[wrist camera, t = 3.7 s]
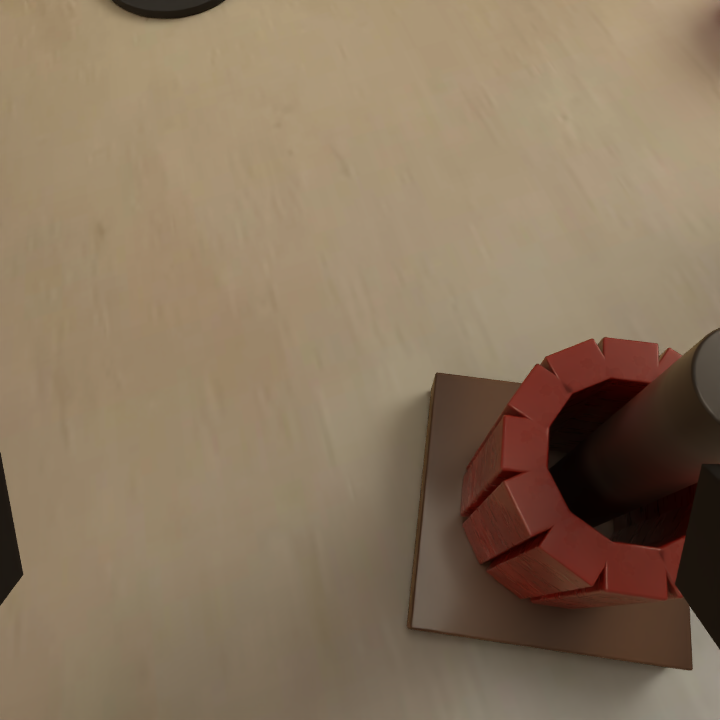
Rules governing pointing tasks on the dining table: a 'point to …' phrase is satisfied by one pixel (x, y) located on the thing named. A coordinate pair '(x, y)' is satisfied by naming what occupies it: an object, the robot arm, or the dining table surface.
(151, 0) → the mat
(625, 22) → the dining table surface
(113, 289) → the dining table surface
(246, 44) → the dining table surface
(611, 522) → the ring holder
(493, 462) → the ring
